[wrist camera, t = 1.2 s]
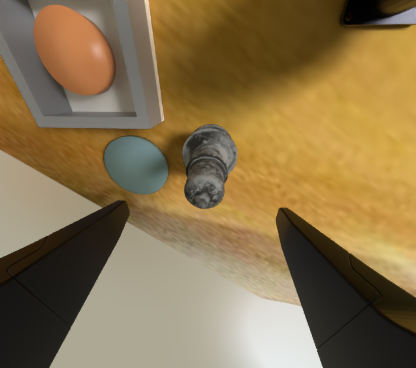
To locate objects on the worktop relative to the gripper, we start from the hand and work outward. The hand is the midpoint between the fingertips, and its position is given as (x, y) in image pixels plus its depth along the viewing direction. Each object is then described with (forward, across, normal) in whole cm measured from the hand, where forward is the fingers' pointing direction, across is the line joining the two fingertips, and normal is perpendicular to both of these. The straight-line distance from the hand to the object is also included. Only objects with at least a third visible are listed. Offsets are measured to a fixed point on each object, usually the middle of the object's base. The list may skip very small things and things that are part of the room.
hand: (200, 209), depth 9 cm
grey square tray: (+12, +11, -8) cm, 18 cm away
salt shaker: (+12, 0, 0) cm, 13 cm away
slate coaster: (+12, +10, +3) cm, 16 cm away
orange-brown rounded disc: (+9, +11, -8) cm, 17 cm away
